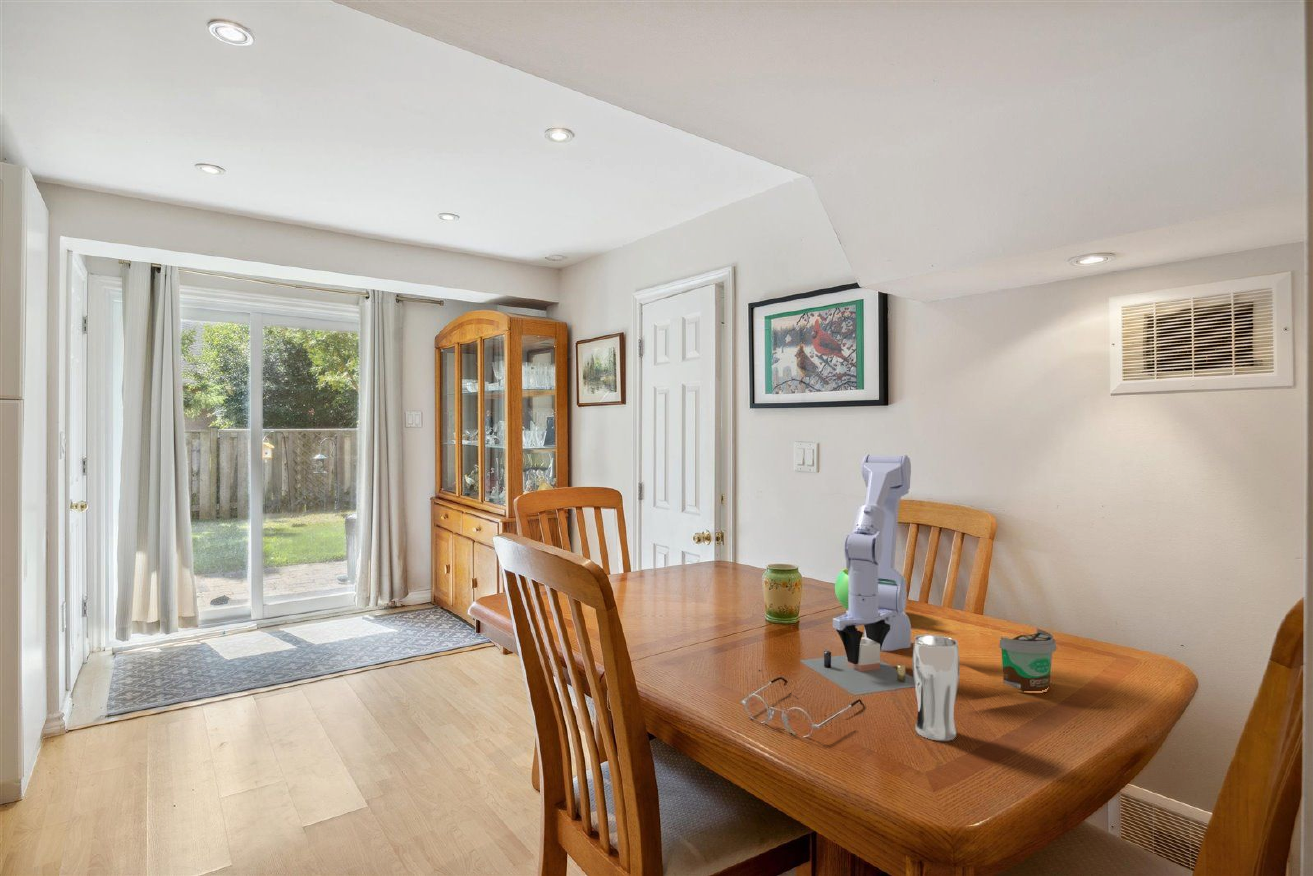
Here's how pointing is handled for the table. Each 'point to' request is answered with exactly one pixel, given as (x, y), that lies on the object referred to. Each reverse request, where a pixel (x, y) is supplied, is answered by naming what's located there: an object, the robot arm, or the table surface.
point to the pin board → (859, 676)
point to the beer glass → (935, 685)
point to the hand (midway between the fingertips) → (863, 660)
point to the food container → (1028, 660)
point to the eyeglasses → (789, 709)
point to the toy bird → (845, 587)
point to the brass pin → (901, 673)
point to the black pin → (827, 659)
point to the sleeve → (867, 655)
